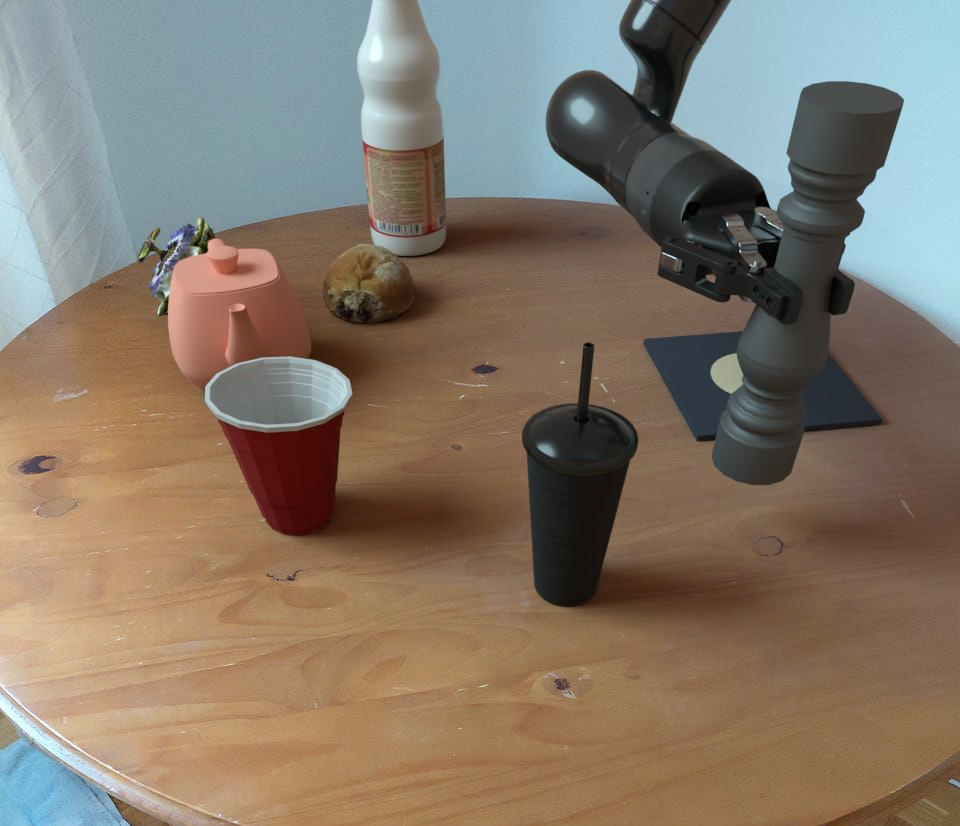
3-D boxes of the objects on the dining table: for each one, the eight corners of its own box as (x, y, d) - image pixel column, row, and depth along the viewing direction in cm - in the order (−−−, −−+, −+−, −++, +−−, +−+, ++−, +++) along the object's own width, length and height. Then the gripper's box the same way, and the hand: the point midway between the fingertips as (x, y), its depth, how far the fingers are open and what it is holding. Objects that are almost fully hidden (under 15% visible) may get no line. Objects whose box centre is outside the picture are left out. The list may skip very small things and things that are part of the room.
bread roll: (422, 339, 101) (442, 266, 98) (357, 332, 94) (375, 253, 90) (365, 310, 106) (381, 240, 103) (298, 301, 98) (313, 225, 95)
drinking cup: (543, 632, 65) (562, 389, 50) (499, 568, 70) (505, 329, 55) (634, 602, 67) (677, 361, 52) (585, 542, 72) (612, 305, 57)
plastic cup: (393, 512, 74) (381, 384, 66) (289, 574, 69) (261, 444, 60) (313, 458, 80) (292, 333, 71) (210, 512, 74) (174, 385, 66)
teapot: (192, 441, 82) (157, 315, 73) (171, 338, 94) (139, 221, 86) (335, 415, 84) (317, 291, 76) (296, 318, 97) (277, 203, 88)
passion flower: (183, 357, 102) (138, 251, 99) (272, 326, 103) (230, 220, 100) (165, 347, 91) (114, 227, 88) (265, 312, 92) (218, 192, 89)
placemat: (805, 331, 95) (807, 325, 95) (881, 424, 83) (883, 418, 83) (643, 343, 94) (643, 337, 93) (696, 441, 81) (697, 434, 81)
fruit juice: (393, 264, 107) (372, -22, 86) (358, 236, 112) (330, -39, 92) (460, 246, 110) (456, -33, 89) (423, 220, 115) (410, -49, 95)
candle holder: (795, 489, 66) (917, 118, 48) (711, 480, 67) (799, 111, 48) (790, 441, 70) (901, 82, 52) (711, 433, 71) (792, 77, 53)
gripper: (612, 160, 63) (735, 263, 52) (785, 137, 66) (936, 230, 55) (602, 264, 69) (711, 377, 58) (762, 239, 72) (894, 341, 61)
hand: (820, 304), depth 56 cm, fingers closed on candle holder, 3 cm apart
